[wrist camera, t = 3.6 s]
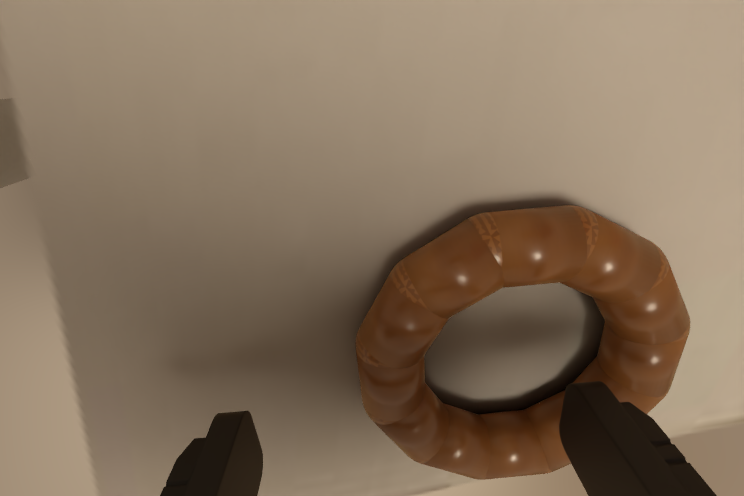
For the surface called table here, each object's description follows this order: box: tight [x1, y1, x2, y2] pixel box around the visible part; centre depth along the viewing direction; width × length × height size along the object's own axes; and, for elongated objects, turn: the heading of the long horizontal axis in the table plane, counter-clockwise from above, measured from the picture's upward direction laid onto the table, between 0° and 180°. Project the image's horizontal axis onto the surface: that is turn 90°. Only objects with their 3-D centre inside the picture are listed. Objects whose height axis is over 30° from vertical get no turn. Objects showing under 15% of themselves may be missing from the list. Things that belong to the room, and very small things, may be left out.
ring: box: [356, 205, 690, 479], centre depth 12 cm, size 10×10×2 cm
